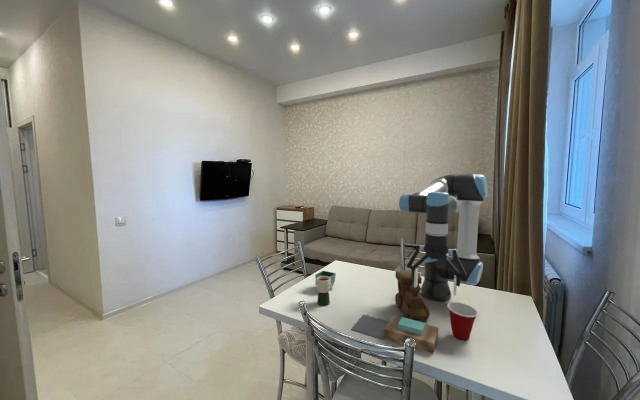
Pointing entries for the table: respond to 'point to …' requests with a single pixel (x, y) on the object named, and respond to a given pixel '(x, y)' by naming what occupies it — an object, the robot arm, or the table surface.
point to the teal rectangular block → (411, 326)
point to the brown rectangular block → (412, 335)
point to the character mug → (323, 289)
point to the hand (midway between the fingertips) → (434, 290)
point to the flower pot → (326, 273)
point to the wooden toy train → (410, 297)
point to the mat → (371, 326)
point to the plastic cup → (461, 319)
